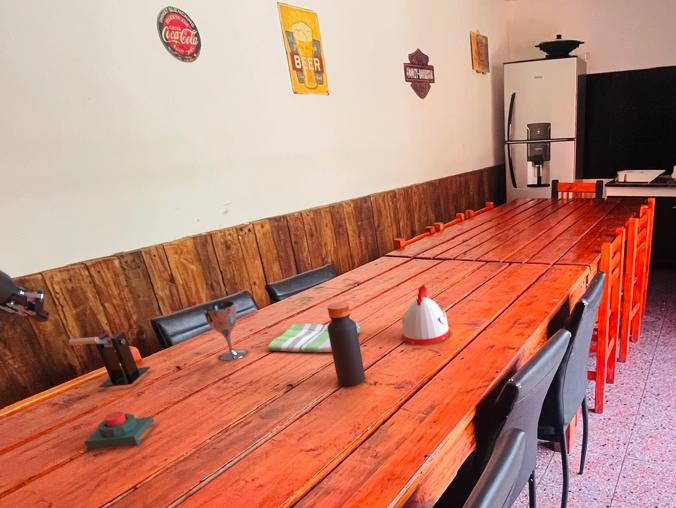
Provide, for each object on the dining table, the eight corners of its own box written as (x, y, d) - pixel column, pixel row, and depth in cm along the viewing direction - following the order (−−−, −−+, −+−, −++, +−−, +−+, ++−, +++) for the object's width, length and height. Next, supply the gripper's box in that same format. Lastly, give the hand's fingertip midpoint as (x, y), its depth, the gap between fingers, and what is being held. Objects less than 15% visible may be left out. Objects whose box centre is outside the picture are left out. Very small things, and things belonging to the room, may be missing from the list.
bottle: (351, 372, 133) (337, 299, 124) (371, 377, 130) (358, 302, 121) (332, 383, 128) (316, 308, 119) (352, 389, 125) (338, 312, 116)
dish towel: (340, 354, 144) (338, 342, 143) (266, 352, 148) (263, 341, 147) (363, 331, 159) (361, 320, 158) (295, 330, 163) (292, 319, 162)
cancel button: (103, 428, 107) (100, 421, 106) (112, 419, 110) (109, 412, 109) (121, 426, 107) (118, 419, 106) (129, 417, 110) (127, 410, 110)
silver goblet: (252, 353, 148) (238, 304, 141) (224, 363, 143) (209, 312, 136) (240, 347, 153) (226, 299, 146) (213, 356, 148) (198, 307, 141)
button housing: (87, 450, 106) (80, 434, 105) (108, 429, 113) (102, 414, 112) (137, 445, 107) (131, 429, 105) (155, 425, 114) (149, 409, 112)
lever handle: (96, 344, 121) (94, 334, 121) (69, 347, 120) (68, 336, 120) (127, 346, 133) (126, 337, 133) (103, 348, 132) (102, 339, 132)
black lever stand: (133, 387, 132) (114, 342, 126) (100, 390, 131) (80, 345, 126) (151, 370, 141) (135, 327, 135) (121, 373, 140) (103, 330, 135)
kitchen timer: (453, 327, 158) (449, 280, 152) (442, 345, 146) (438, 294, 140) (410, 326, 161) (404, 280, 154) (396, 344, 149) (389, 294, 142)
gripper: (14, 257, 95) (79, 299, 111) (-62, 263, 94) (15, 304, 111) (6, 293, 93) (74, 331, 109) (-72, 299, 92) (9, 336, 108)
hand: (44, 317), depth 110 cm, fingers closed
